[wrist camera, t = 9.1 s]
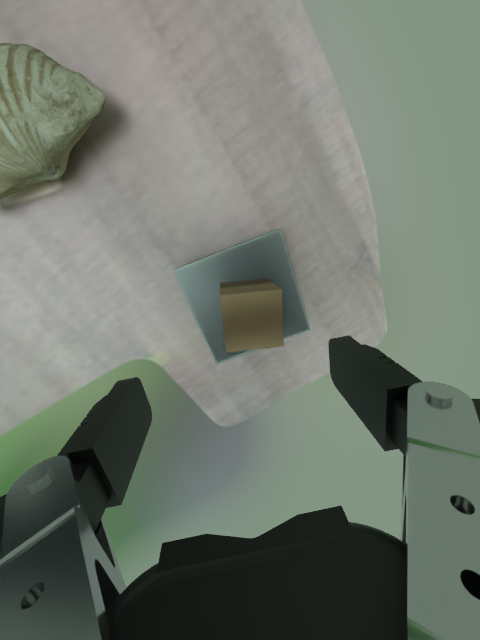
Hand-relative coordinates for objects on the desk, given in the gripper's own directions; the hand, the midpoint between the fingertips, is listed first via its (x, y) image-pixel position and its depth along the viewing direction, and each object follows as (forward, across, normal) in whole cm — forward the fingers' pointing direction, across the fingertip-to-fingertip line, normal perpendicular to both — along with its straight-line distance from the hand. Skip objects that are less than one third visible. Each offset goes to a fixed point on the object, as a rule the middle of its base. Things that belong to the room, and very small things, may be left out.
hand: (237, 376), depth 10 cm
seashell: (+21, +16, -17) cm, 31 cm away
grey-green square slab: (+21, -2, +2) cm, 21 cm away
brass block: (+16, -2, +2) cm, 16 cm away
